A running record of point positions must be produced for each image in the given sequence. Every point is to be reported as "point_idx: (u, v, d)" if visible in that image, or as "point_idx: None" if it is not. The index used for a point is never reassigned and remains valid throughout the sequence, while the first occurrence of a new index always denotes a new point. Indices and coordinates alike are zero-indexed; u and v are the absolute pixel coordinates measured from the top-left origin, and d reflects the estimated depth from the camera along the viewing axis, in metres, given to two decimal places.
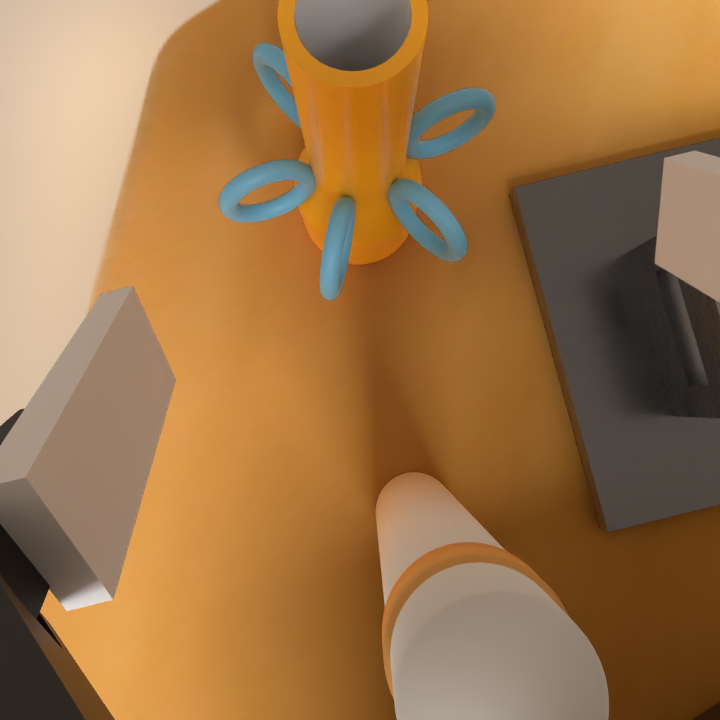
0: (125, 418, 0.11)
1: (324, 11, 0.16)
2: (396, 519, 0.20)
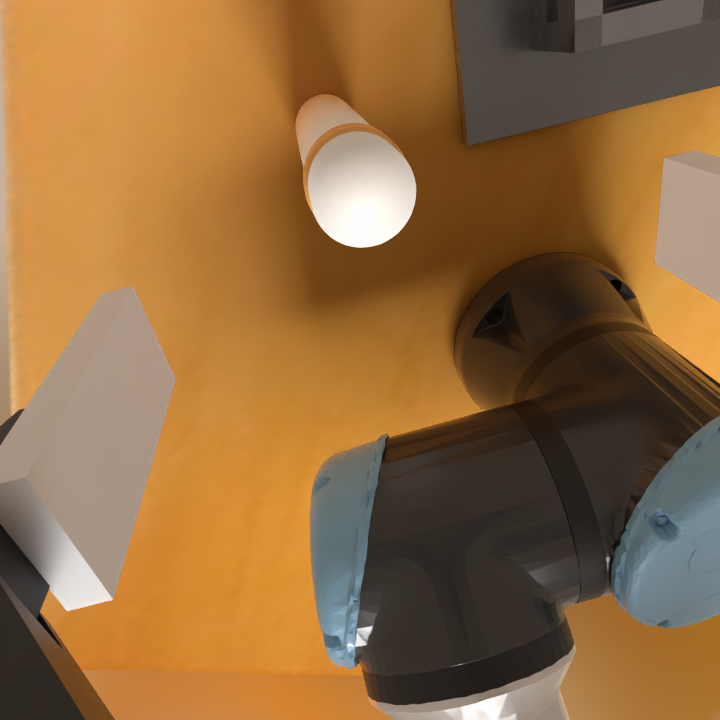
0: (125, 418, 0.11)
1: None
2: (311, 121, 0.28)
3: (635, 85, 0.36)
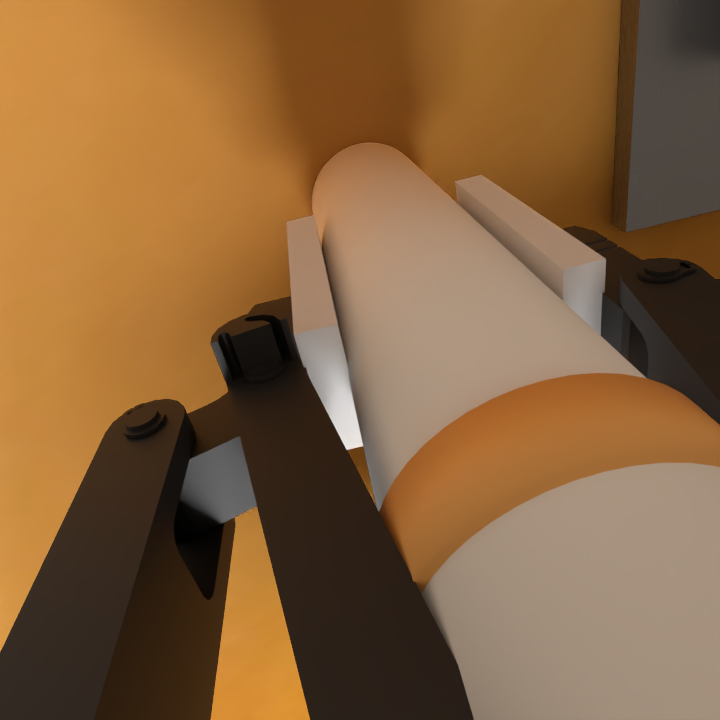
0: None
1: None
2: (365, 245, 0.11)
3: None
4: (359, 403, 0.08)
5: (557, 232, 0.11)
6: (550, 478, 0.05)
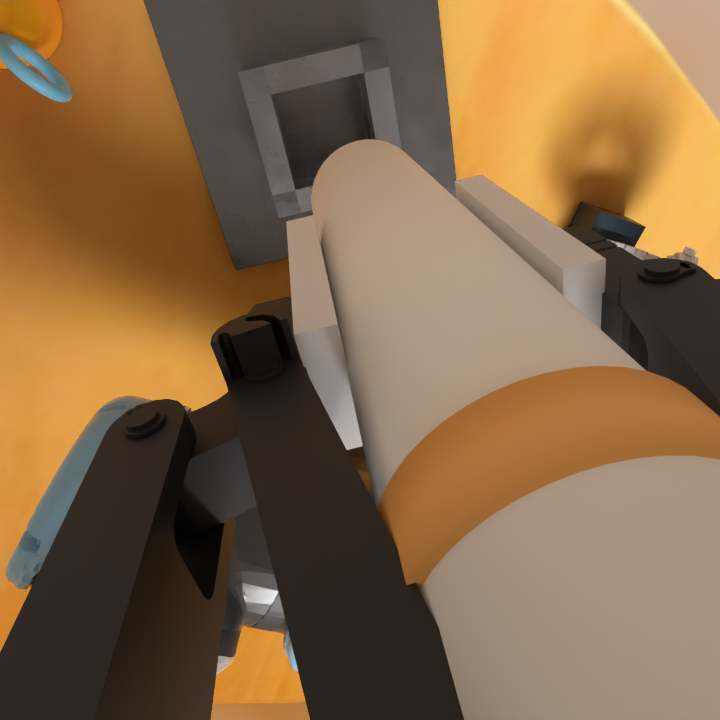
0: None
1: None
2: (364, 241, 0.11)
3: None
4: (358, 399, 0.08)
5: (557, 232, 0.11)
6: (550, 471, 0.05)
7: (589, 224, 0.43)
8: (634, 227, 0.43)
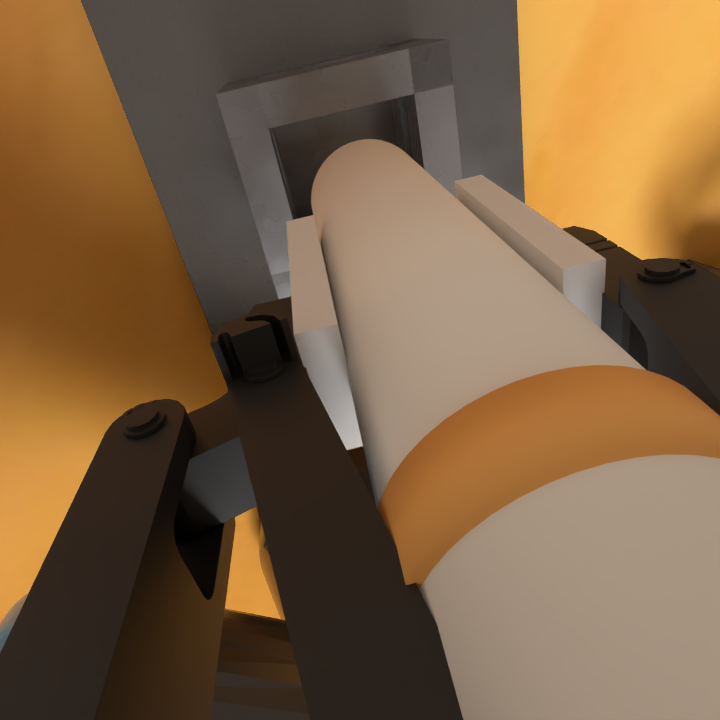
0: None
1: None
2: (364, 240, 0.11)
3: None
4: (358, 398, 0.08)
5: (557, 232, 0.11)
6: (550, 470, 0.05)
7: None
8: None
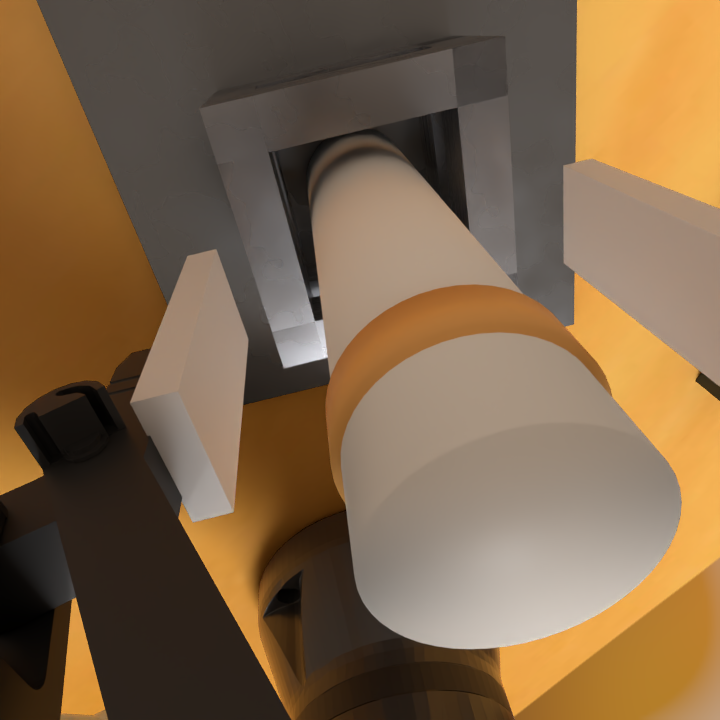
0: (224, 362, 0.12)
1: None
2: (340, 210, 0.14)
3: None
4: (325, 326, 0.11)
5: None
6: (425, 341, 0.07)
7: None
8: None
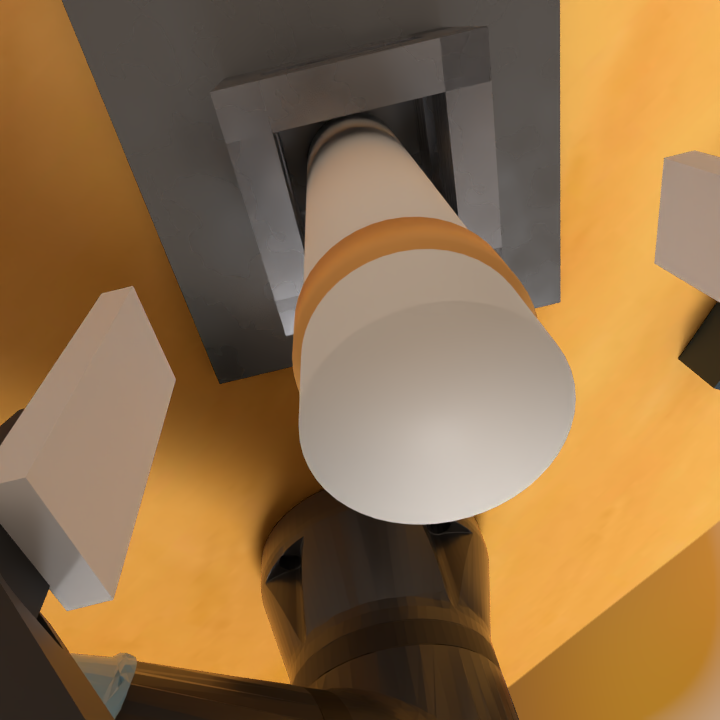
0: (125, 418, 0.11)
1: None
2: (326, 176, 0.15)
3: None
4: None
5: None
6: (368, 255, 0.09)
7: None
8: None
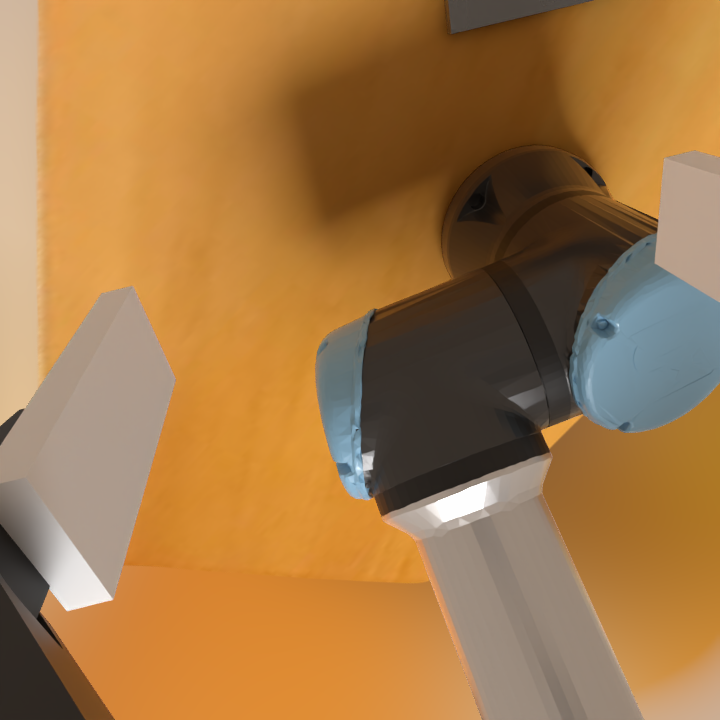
0: (125, 418, 0.11)
1: None
2: None
3: None
4: None
5: None
6: None
7: None
8: None
